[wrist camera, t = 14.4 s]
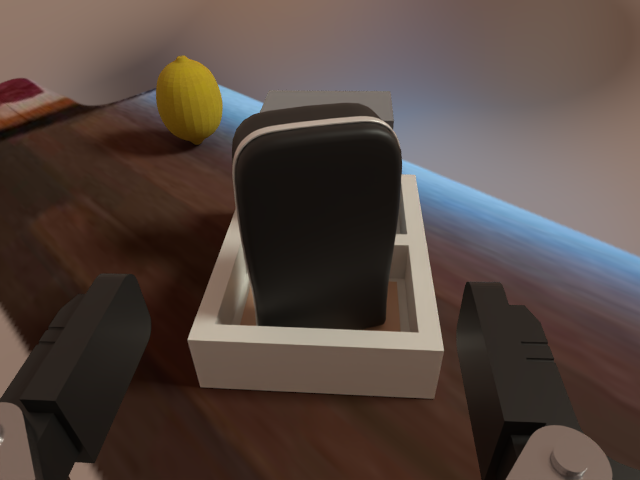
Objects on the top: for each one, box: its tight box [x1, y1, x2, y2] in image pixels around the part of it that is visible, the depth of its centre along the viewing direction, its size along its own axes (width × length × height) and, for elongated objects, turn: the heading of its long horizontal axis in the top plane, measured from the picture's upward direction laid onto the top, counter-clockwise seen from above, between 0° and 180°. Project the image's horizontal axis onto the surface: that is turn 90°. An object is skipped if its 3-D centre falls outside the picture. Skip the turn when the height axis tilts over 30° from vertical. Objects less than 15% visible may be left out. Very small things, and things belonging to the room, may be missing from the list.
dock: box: [188, 91, 444, 399], centre depth 27 cm, size 11×15×10 cm
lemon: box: [156, 56, 222, 145], centre depth 43 cm, size 6×6×8 cm
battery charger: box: [232, 103, 402, 330], centre depth 23 cm, size 7×4×11 cm, turn 103°
